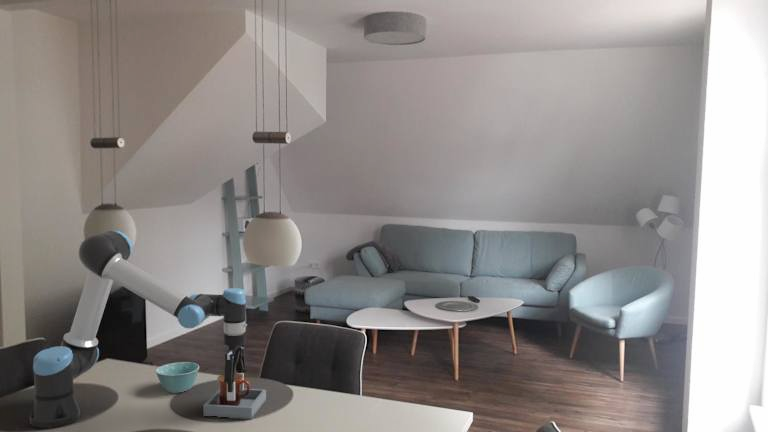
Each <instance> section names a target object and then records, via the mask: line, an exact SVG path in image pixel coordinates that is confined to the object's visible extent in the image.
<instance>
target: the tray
mask: <svg viewBox="0 0 768 432" xmlns="http://www.w3.org/2000/svg"><path fill="white" fill-rule="evenodd" d="M246 392H247V388H244V391H241V394H245V393H246ZM266 401H267V389H259V388H250V392H249V394H248V395H247V396H245V397H243V398H241V401H240V404H239V405H238V406H229V405H220V403H219V389H218V390H217V391H216V392H215V393H214V394H213V395H212V396H211V397H210V398H209V399H208V400H207V401H206V402H205V403H204V404H203V406H202V407H203V417H204V416H218V417H217V418H220V417H229V418H228V419H238V418H239V419H241V420H252V419H253V418H254V417H255V416H256V414H258V412H259V410H260V409H261V408H262V407H263V405H264V404H265V402H266ZM239 419H238V420H239Z"/></svg>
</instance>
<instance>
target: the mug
mask: <svg viewBox="0 0 768 432" xmlns="http://www.w3.org/2000/svg"><path fill="white" fill-rule="evenodd" d="M237 373H238V372H235V377H234V382H235V401H230V400H227V383H224V376H225V373H223V374H221V375H219V376H217V378H216V380H217V382H218V386H219V387H218V388H219V389H218V390H219V403H220V405H229V406H238V405H239V404H240V401H241V398H243V397H245V396H247V395H248V394H249V392H250V389H251V382H250V381H249V380H247V379H244V380H242V378H243V377H242V375H240V374H237ZM242 383H244V384H245V385H246V389H247V392H246V393H245V394H241V388H240V386H241V384H242Z"/></svg>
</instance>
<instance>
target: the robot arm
mask: <svg viewBox="0 0 768 432" xmlns="http://www.w3.org/2000/svg"><path fill="white" fill-rule="evenodd" d="M132 253H133V244H132V241H131V239H130V237H129V236H128V235H127V234H125V233H124V232H123V231H119V230H107V231H104V232H102V233H99V234H98V233H97V234H93V235H90V236H88V237H86V238H84V239H83V241H82V242H81V243H80V246H79V249H78V257H79V260H80V262H81V264H82V265H83V266H84V267H85V268H86V269H88V273H87V276H86V280H85V282H84V286H83V289H82V292H81V295H80V299H79V302H78V305H77V308H76V311H75V315H74V318H73V321H72V324H71V327H70V331H69V332H67V333H64V335H63V337H62V341H61V344H60V346H57V345H56V346H53V347H52V346H51V347H49V348H45V349H42V350H41V351H39V352H38V353H36V355H34V357H33V364H32V370H33V371H32V372H33V383H34V385H33V386H34V387H33V388H34V403H33V405H32V408H31V411H30V413H29V414H30V415H29V424H31V425H32V427H33V428H36V429H37V428H38V429H51V428H58V427H64V426H67V425H69V424H72V423H74V422H75V421H77V420H79V418H81V408H80V406H79V404H78V401H77V399H76V396H75V391H74V380H75V379H77V378H78V377H79V376H81V375H83V374H85V373H86V372H88V371H89V370H91V369H92V368H93V367H94V366H95V364H96V363H97V362H98V359H99V356H100V349H99V348H98V344H99V340H98V338H97V337H96V336H97V333H98V331H99V327H100V324H101V321H102V318H103V314H104V310H105V309H106V306H107V305H106V304H107V301H108V299H109V295H110V293H111V289H112V286H113V284H114V282H115V283H116V284H118V285H120V286H122V287H123V288H125V289H127V290H128V291H131V292H132V293H133V294H136V295H137V296H139V297H141V298H142V299H144V300H146V301H148V302H149V303H151V304H153V305H155V306H156V307H158V308H160V309H162V310H163V311H165V312H167V313H168V314H170V315H171V316H173V317H175V318H176V319H177V321H178V323H179V324H180V326H182V327H183V328H184V329H194V328H196V327H199V326H200V325H201V324H203V322H205V320H207V319H208V318H209V317H223V333H224V334H223V344H224V345H225V346H228V350H227V353H225V354H224V358H225V359H224V360H225V361H224V374H225V376H224V383H227V400H230V401H235V382H234V377H235V373H237V374H240V375H242V377H243V378H242V380H245V379H244V375H245V373H246V372H247V369H246V368H247V366H246V353H245V348H246V347H245V344H246V342H247V335H246V334H247V333H246V330H247V327H248V324H247V323H246V315H247V314H246V311H247V309H246V308H247V307H246V305H247V300H246V291H245V290H244V289H243V288H239V287H238V288H237V287H232V288H231V287H230V288H226V289H224V290H223V293H222V294H211V293H210V294H209V293H206V294H205V293H199V294H198V293H197V294H196V293H194V294H191V295H190V296H187V295H185V294H184V293H182V292H181V291H178V290H177V289H175V288H174V287H172V286H170V285H169V284H166V283H165V282H163V281H161V280H160V279H158V278H157V277H155V276H153V275H152V274H150V273H149V272H146V271H144V270H143V269H141V268H139V267H137V266H136V265H135V264H133V263H131V262H129V261H128V260H129V258H130V257H131V255H132ZM244 384H245V383H242V384H241V386H240V388H241V391H244V389H245V388H244V387H245V386H244ZM31 425H30V426H31Z"/></svg>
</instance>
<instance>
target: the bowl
mask: <svg viewBox="0 0 768 432" xmlns="http://www.w3.org/2000/svg"><path fill="white" fill-rule="evenodd" d="M199 370H200V366H199V364H197V363H195V362H192V361H191V362H190V361H181V362H179V361H178V362H173V363H172V362H171V363H167V364H162V365H161V366H159V367H158V368H156V369H155V374H156V376H157V378H158V380H159V383H160V385H161V387H162V389H163V390H164V391H166V392H167V393H171V394H180V392H181V393H184V391H185V392H188V391H189V390H191V388H193V387H194V384H195V382H196V379H197V376H198V372H199Z"/></svg>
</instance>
